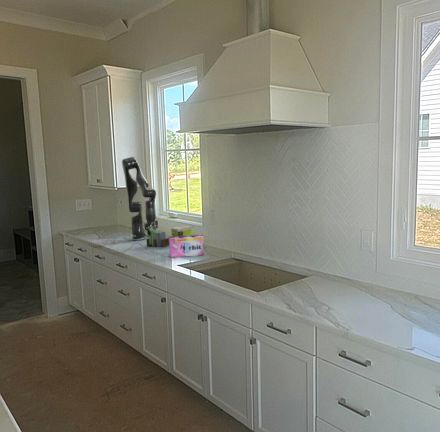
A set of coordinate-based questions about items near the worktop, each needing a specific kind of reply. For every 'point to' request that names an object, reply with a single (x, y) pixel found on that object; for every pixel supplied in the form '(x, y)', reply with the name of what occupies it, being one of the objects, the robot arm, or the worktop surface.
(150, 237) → the green book
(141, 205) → the robot arm
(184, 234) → the tea box
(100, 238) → the worktop surface
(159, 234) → the grey books
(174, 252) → the gum box
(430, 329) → the worktop surface
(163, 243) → the book rack
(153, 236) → the green books
